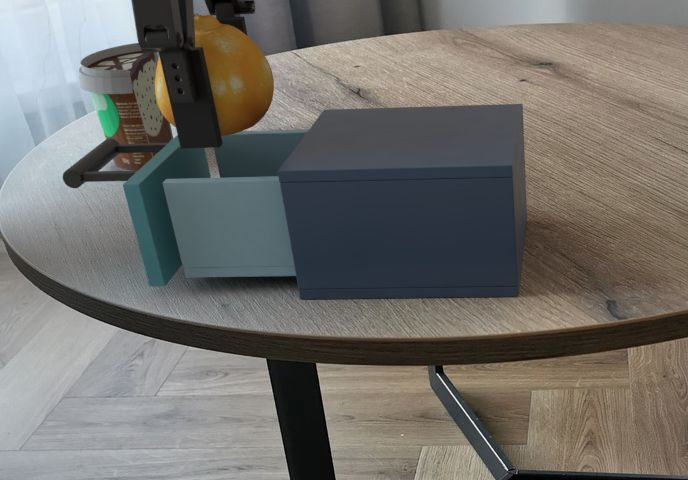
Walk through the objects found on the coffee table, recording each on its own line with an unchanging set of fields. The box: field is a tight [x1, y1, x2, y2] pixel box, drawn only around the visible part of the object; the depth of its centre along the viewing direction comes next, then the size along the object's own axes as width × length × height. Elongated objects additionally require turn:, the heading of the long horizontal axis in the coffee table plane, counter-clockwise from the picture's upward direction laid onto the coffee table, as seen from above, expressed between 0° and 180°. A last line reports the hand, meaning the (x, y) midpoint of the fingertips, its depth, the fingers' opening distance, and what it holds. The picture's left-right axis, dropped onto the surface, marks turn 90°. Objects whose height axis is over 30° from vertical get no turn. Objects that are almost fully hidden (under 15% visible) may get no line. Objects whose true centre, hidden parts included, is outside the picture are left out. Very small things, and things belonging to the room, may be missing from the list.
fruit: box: [155, 13, 275, 136], centre depth 68 cm, size 8×8×8 cm
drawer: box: [62, 128, 310, 287], centre depth 72 cm, size 20×12×8 cm, turn 86°
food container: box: [78, 42, 174, 171], centre depth 95 cm, size 12×6×10 cm, turn 6°
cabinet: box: [278, 103, 528, 300], centre depth 71 cm, size 16×14×10 cm
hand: (222, 125), depth 69 cm, fingers closed on fruit, 8 cm apart
